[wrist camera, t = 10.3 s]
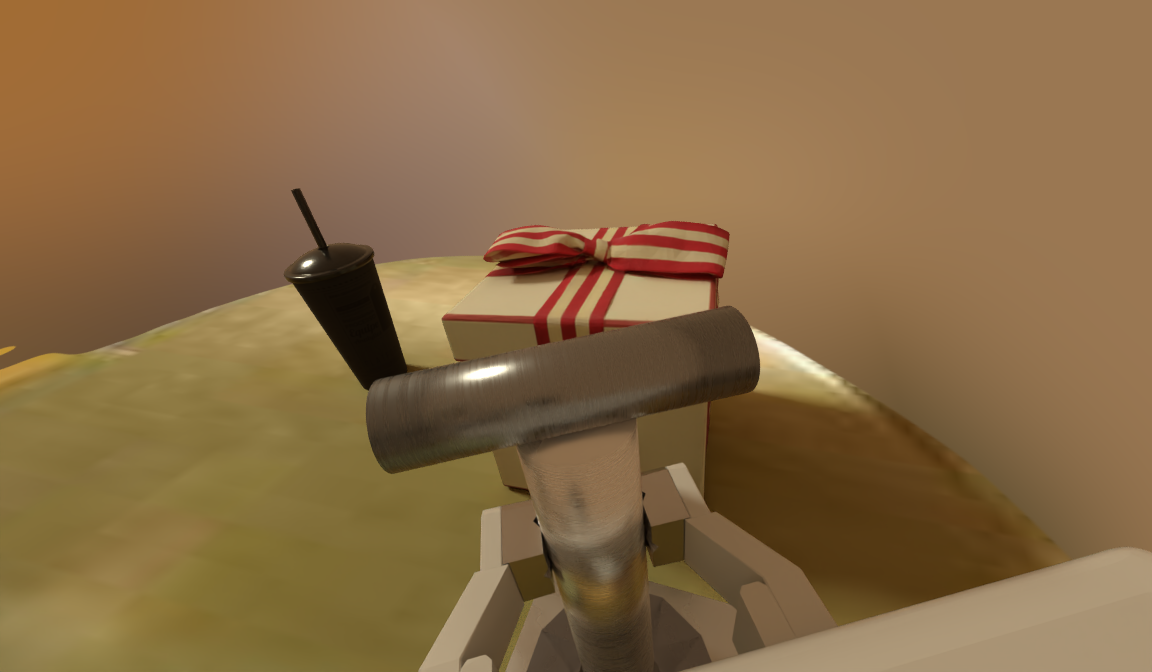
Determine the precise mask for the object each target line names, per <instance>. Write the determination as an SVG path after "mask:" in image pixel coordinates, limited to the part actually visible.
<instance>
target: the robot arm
mask: <svg viewBox="0 0 1152 672" xmlns="http://www.w3.org/2000/svg"><path fill="white" fill-rule="evenodd" d="M641 485H642V499H643V513H644V527H645V541H646V547H647V550H648V552H649V555H650V558H651V561H652V564H653V567H656V566H661V565H665V564H669V563H674V562H678V561H682V560H685V561H684V562H685V563H686V564H687V565H689V566H690V567H691V568H692V569H693V570H694V571H695V572H696V573H697V574H698V575H699V576H700V577H702V578H703V579H704V580H705V581H706V582H707V583H708V584H709V585H710V586H711V587H712V588H713V589H715V590H716V591H717V592H718V593H719V594H720V595H721V596H722V597H723V598H724V599H725V600H726V601H727V602H729V603H730V604H731V605H732V606H733V607H734V608H735V609H736V610H737V612H736V618H735V624H734V630H733V636H732V641H733V643H734V646H735V648H736V650H737V653H738V655H736V656H732V657H729V658H725V659H722V660H718V661H714V662H711V663H707V664H704V665H700V666H697V667H693V668H690V669H686V670H683V671H679V672H1152V552H1149V551H1146V550H1143V549H1139V548H1134V547H1119V548H1114V549H1109V550H1105V551H1102V552H1099V553H1095V554H1092V555H1088V556H1085V557H1082V558H1078V559H1075V560H1071V561H1068V562H1064V563H1061V564H1057V565H1053V566H1050V567H1046V568H1043V569H1039V570H1036V571H1032V572H1029V573H1025V574H1021V575H1018V576H1014V577H1011V578H1007V579H1004V580H1000V581H997V582H993V583H990V584H986V585H983V586H979V587H975V588H972V589H968V590H965V591H961V592H958V593H954V594H951V595H947V596H944V597H940V598H937V599H933V600H930V601H926V602H923V603H919V604H916V605H912V606H908V607H905V608H901V609H898V610H894V611H891V612H887V613H884V614H880V615H877V616H873V617H870V618H866V619H863V620H859V621H856V622H852V623H849V624H845V625H841V626H837V624H836V623H835V621H834V619H833V618H832V616H831V615H830V613H829V612H828V610H827V609H826V607H825V605H824V604H823V602H822V601H821V599H820V598H819V596H818V595H817V593H816V591H815V590H814V588H813V587H812V585H811V584H810V582H809V581H808V579H807V578H806V576H805V574H804V573H803V571H802V570H801V568H799V567H798V566H796V565H795V564H793V563H792V562H790V561H789V560H787V559H786V558H784V557H783V556H781V555H780V554H778V553H777V552H775V551H774V550H772V549H771V548H769V547H768V546H766V545H765V544H763V543H762V542H760V541H759V540H757V539H756V538H754V537H753V536H751V535H750V534H748V533H747V532H745V531H744V530H742V529H741V528H740V527H738V526H737V525H735V524H734V523H732V522H731V521H729V520H728V519H726V518H725V517H723V516H722V515H720V514H719V513H717V512H712V513H711V512H710V510H709V509H708V507H707V505H706V503H705V501H704V499H703V497H702V495H701V493H700V491H699V489H698V488H697V486H696V484H695V482H694V480H693V478H692V476H691V474H690V472H689V470H688V469H687V467H686V465H685V464H684V463H678V464H674V465H670V466H667V467H660V468H656V469H652V470H649V471H645V472H641ZM553 593H555V585H554V577H553V569H552V565H551V562H550V558H549V555H548V552H547V549H546V545H545V542H544V538H543V535H542V532H541V529H540V526H539V522H538V519H537V516H536V512H535V509H534V506H533V502H532V500H527V501H523V502H518V503H513V504H509V505H504V506H499V507H495V508H491V509H487V510H483V512H482V516H481V562H480V571H478V572H475V573H474V575H473V576H472V578H471V580H470V582H469V583H468V585H467V587H466V589H465V590H464V592H463V594H462V596H461V597H460V599H459V601H458V603H457V604H456V606H455V608H454V610H453V611H452V613H451V615H450V617H449V618H448V620H447V622H446V624H445V625H444V627H443V629H442V631H441V632H440V634H439V636H438V638H437V639H436V641H435V643H434V645H433V646H432V648H431V650H430V652H429V653H428V655H427V657H426V659H425V660H424V662H423V664H422V666H421V667H420V669H419V672H498V671H499V668H500V666H501V663H502V661H503V658H504V655H505V653H506V650H507V648H508V645H509V642H510V640H511V637H512V635H513V632H514V630H515V627H516V624H517V622H518V619H519V617H520V614H521V611H522V609H523V606H524V602H525V601H529V600H532V599H536V598H539V597H542V596H546V595H549V594H553Z"/></svg>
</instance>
